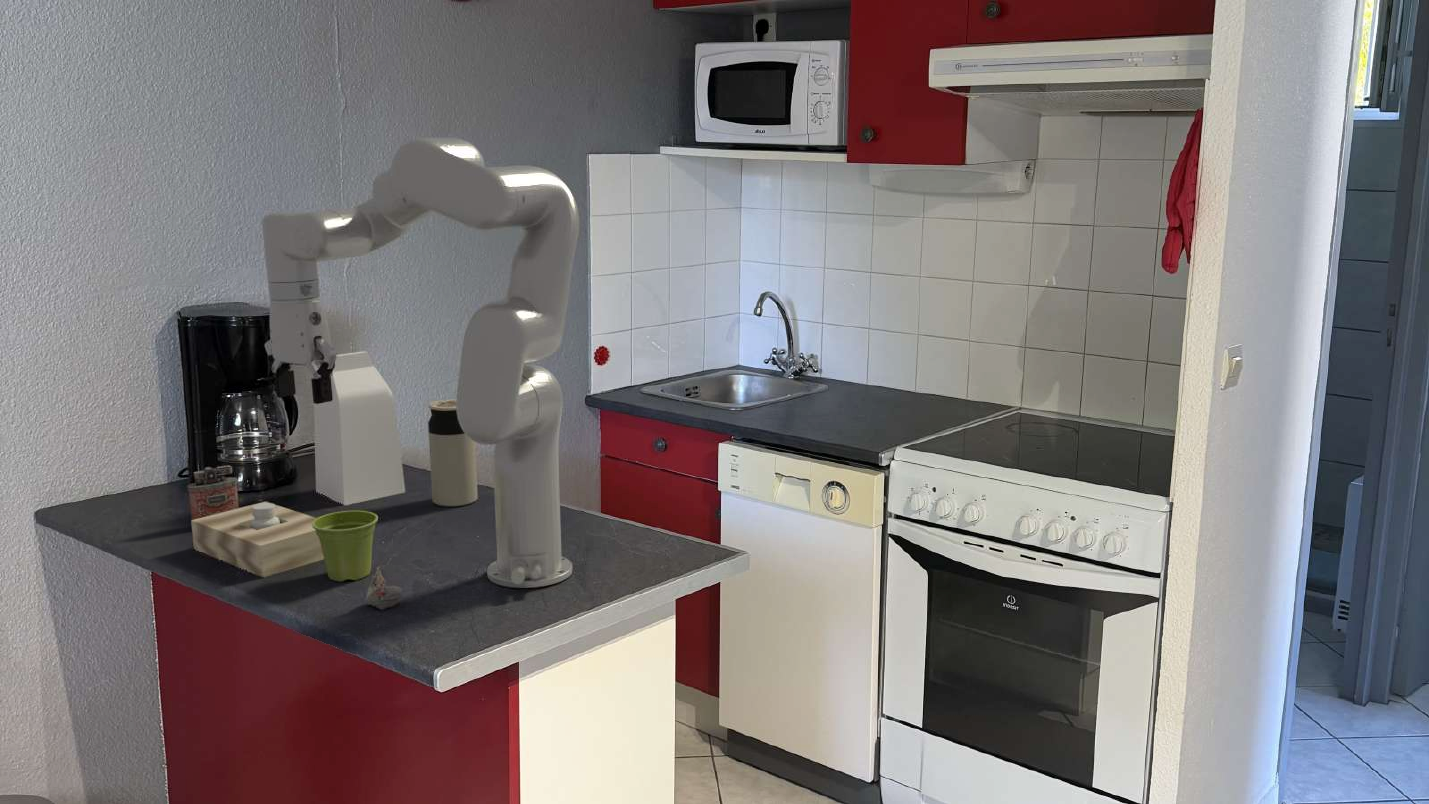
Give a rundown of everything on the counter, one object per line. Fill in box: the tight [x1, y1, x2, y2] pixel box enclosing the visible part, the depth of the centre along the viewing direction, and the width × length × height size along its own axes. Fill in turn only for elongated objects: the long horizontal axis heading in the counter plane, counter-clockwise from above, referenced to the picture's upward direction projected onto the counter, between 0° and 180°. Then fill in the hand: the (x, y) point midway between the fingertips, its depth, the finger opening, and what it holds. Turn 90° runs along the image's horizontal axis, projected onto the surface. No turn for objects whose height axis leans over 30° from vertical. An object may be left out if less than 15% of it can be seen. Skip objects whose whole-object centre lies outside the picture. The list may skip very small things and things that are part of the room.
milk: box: [313, 350, 406, 506], centre depth 225 cm, size 12×12×26 cm
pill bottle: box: [250, 502, 280, 530], centre depth 194 cm, size 4×4×8 cm
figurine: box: [365, 565, 404, 611], centre depth 172 cm, size 5×4×6 cm
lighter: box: [186, 464, 240, 528], centre depth 208 cm, size 8×3×10 cm, turn 129°
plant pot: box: [312, 510, 379, 582], centre depth 184 cm, size 9×9×9 cm
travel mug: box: [427, 398, 479, 508], centre depth 220 cm, size 8×8×18 cm
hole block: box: [190, 501, 324, 578], centre depth 194 cm, size 20×13×5 cm, turn 51°
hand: (304, 399), depth 196 cm, fingers open, 9 cm apart
